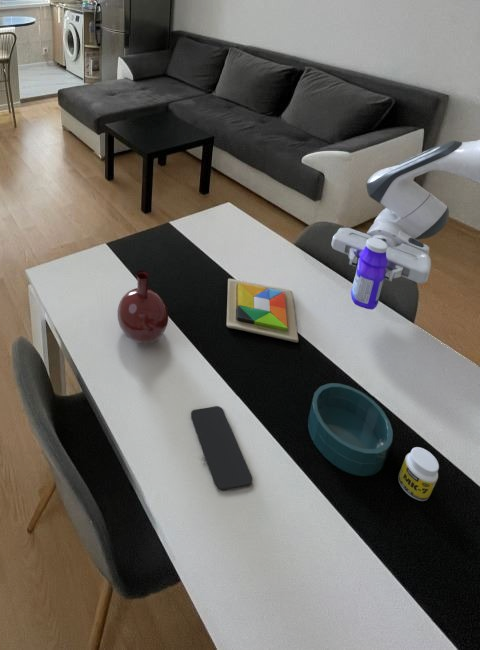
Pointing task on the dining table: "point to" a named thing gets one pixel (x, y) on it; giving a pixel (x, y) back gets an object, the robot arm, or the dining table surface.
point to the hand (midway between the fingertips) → (370, 270)
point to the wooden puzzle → (261, 310)
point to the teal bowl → (349, 429)
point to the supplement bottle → (419, 473)
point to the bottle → (370, 274)
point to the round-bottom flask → (142, 312)
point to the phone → (221, 449)
